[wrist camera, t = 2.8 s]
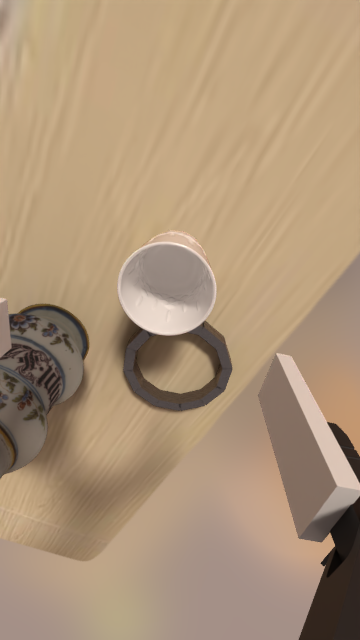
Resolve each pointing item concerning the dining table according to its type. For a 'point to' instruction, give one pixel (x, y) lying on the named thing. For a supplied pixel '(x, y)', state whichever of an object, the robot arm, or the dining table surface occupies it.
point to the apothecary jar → (37, 378)
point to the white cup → (167, 284)
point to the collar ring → (175, 399)
